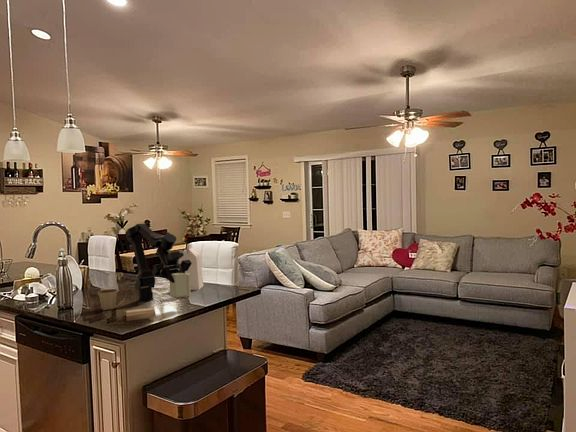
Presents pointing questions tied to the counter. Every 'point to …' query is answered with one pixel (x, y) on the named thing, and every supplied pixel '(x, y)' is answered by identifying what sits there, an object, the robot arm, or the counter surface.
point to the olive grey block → (187, 286)
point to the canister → (178, 285)
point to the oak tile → (140, 314)
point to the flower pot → (108, 298)
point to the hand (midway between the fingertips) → (179, 281)
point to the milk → (193, 267)
